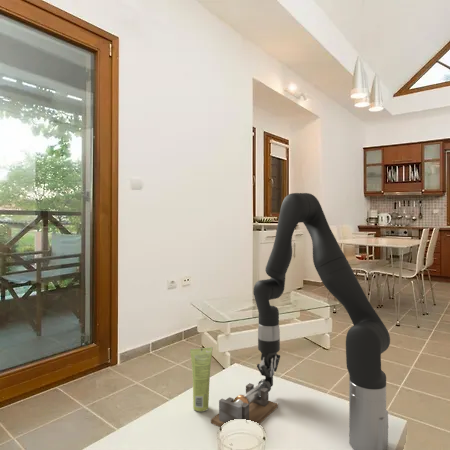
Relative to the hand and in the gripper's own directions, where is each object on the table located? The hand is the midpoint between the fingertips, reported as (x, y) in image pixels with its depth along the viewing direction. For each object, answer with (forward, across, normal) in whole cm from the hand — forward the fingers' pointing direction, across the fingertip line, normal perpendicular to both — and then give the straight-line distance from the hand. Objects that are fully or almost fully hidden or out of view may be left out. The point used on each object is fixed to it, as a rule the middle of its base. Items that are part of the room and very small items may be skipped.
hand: (269, 386), depth 123 cm
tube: (+3, -20, +14) cm, 25 cm away
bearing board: (+3, -15, 0) cm, 16 cm away
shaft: (+1, -12, 0) cm, 12 cm away
